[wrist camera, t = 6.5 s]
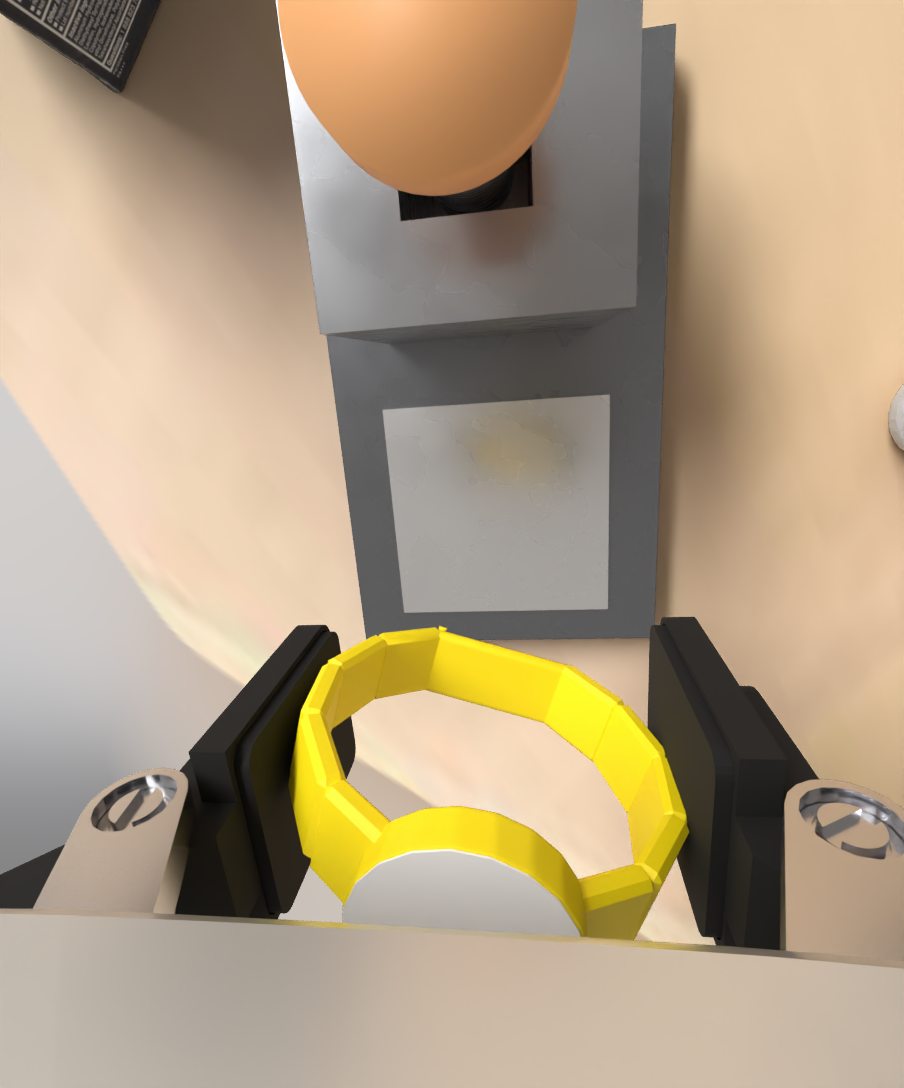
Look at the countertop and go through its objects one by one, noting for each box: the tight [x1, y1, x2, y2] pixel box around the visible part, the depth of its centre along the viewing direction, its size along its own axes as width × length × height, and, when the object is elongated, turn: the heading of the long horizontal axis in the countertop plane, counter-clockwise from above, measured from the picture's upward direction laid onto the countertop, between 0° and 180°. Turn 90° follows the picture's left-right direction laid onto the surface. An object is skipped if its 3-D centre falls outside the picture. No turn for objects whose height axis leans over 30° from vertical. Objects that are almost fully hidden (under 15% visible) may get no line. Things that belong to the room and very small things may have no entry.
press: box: [276, 0, 676, 640], centre depth 19 cm, size 13×22×10 cm, turn 4°
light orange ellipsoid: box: [277, 0, 578, 216], centre depth 12 cm, size 4×4×8 cm
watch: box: [288, 626, 689, 940], centre depth 9 cm, size 6×3×6 cm, turn 76°
